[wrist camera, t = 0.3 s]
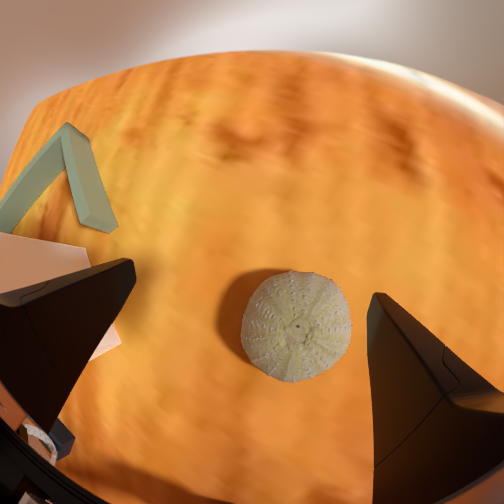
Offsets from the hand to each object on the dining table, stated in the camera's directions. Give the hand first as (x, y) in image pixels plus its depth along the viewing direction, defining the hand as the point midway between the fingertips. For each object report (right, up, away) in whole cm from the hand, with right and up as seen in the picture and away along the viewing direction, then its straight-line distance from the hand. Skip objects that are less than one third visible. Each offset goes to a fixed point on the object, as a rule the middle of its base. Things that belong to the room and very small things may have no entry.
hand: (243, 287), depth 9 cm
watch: (-28, -26, +16) cm, 41 cm away
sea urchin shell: (+4, -5, +14) cm, 16 cm away
